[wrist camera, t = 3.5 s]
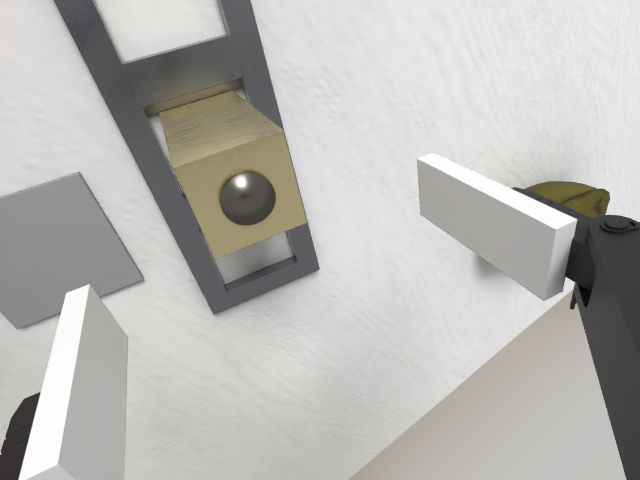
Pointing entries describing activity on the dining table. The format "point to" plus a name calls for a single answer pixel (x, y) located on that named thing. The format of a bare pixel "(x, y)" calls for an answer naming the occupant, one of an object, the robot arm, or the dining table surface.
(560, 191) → the fruit
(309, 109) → the dining table surface
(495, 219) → the robot arm
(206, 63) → the grey triple frame
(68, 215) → the pad
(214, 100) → the brass block with knob
